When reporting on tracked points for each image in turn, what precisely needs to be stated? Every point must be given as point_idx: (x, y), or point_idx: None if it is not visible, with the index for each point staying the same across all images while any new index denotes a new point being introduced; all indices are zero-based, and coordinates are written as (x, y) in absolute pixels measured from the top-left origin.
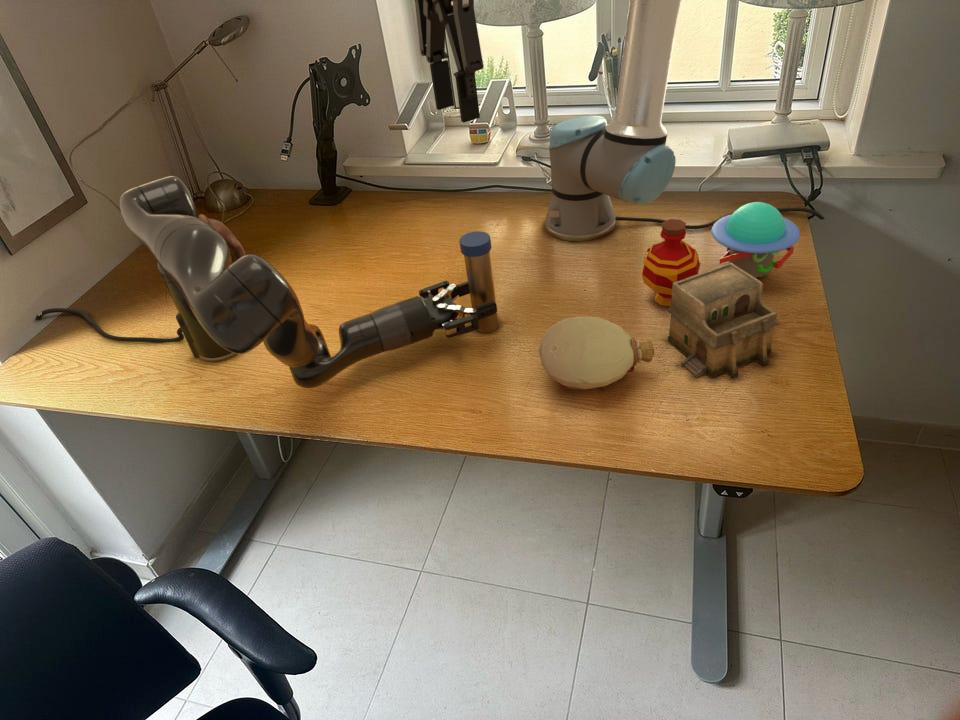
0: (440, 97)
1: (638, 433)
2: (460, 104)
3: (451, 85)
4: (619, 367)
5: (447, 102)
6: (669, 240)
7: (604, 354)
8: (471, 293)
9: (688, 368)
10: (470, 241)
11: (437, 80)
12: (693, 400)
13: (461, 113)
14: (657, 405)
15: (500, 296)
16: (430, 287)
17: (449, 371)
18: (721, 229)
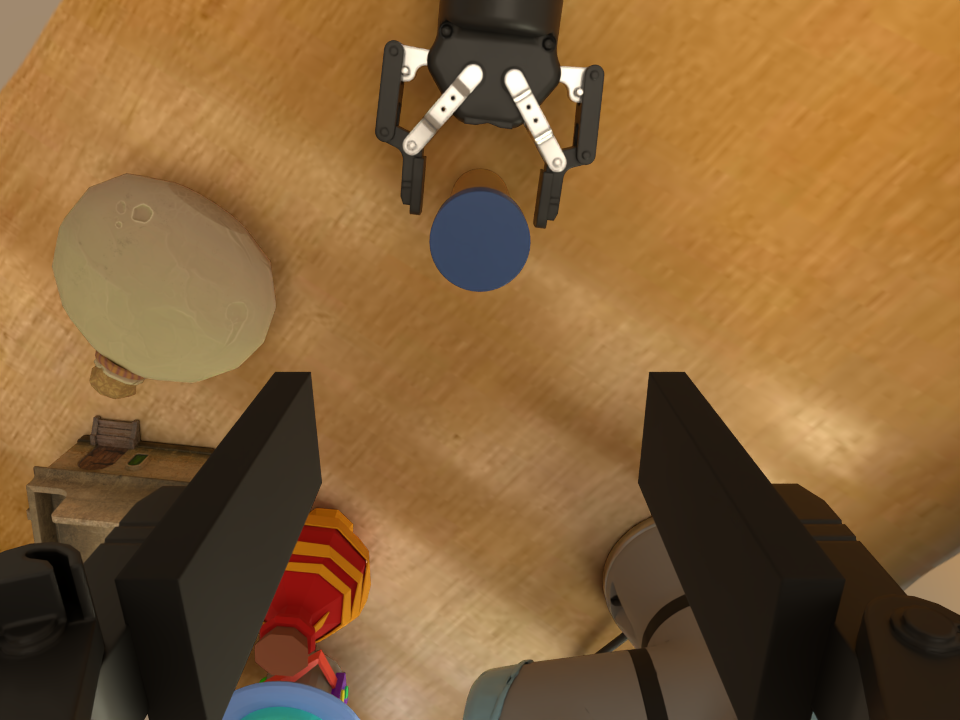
0: (666, 434)
1: (7, 246)
2: (247, 426)
3: (675, 569)
4: (61, 298)
5: (649, 456)
6: (273, 617)
7: (71, 289)
8: (476, 179)
9: (119, 422)
10: (473, 223)
11: (714, 507)
12: (46, 375)
13: (276, 396)
14: (61, 320)
15: (562, 287)
16: (593, 105)
17: (375, 28)
18: (323, 713)
